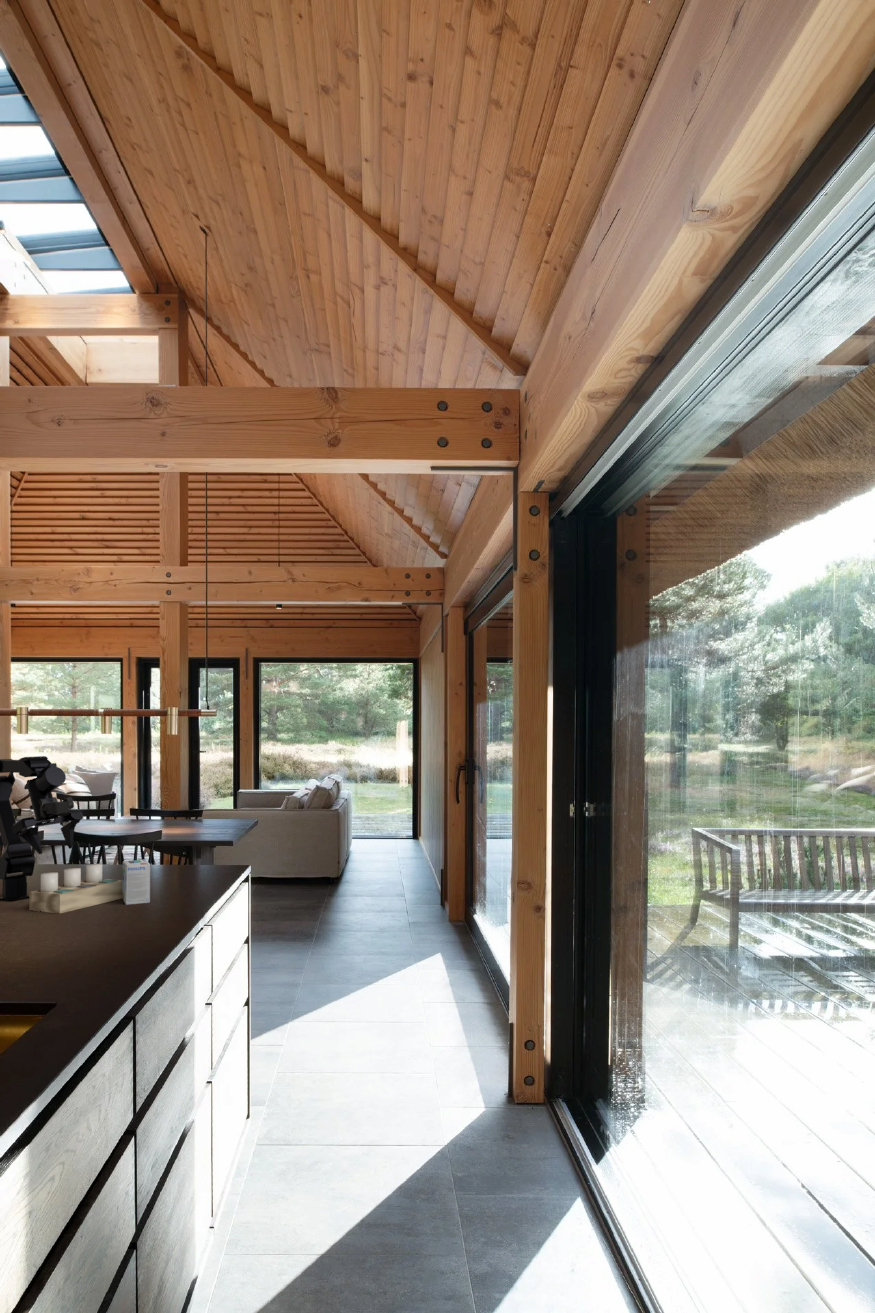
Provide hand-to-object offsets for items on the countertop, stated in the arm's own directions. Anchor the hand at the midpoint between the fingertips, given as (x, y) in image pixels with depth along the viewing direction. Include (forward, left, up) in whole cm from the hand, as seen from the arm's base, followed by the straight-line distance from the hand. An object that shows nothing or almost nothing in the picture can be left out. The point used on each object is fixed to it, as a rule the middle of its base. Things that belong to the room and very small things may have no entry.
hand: (56, 851), depth 257 cm
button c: (+1, +13, -13) cm, 18 cm away
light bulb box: (+15, +15, -15) cm, 26 cm away
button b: (+1, +5, -13) cm, 14 cm away
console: (+3, +5, -15) cm, 16 cm away
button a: (+1, -3, -13) cm, 13 cm away
